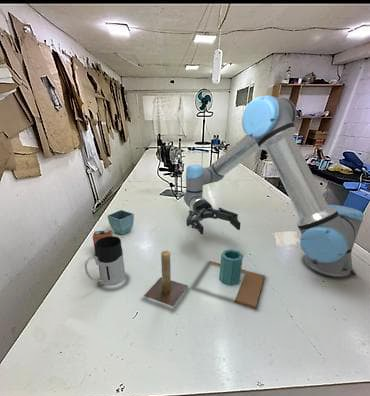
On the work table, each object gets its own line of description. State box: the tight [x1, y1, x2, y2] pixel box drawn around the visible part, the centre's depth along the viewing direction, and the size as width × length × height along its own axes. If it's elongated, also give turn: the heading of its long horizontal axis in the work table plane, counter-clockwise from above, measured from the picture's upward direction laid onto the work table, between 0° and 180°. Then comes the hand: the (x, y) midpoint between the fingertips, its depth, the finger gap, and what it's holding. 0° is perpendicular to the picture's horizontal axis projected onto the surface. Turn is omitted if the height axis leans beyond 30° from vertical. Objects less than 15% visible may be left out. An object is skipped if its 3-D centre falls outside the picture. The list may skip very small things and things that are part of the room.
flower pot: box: [106, 209, 135, 236], centre depth 110 cm, size 9×9×9 cm
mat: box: [208, 260, 265, 310], centre depth 78 cm, size 20×16×1 cm
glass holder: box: [84, 235, 126, 286], centre depth 73 cm, size 9×14×15 cm, turn 155°
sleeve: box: [218, 248, 244, 287], centre depth 76 cm, size 6×6×10 cm
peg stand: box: [143, 250, 189, 308], centre depth 70 cm, size 10×10×15 cm
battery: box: [92, 229, 114, 257], centre depth 93 cm, size 4×7×10 cm, turn 100°
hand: (221, 228), depth 81 cm, fingers open, 13 cm apart
